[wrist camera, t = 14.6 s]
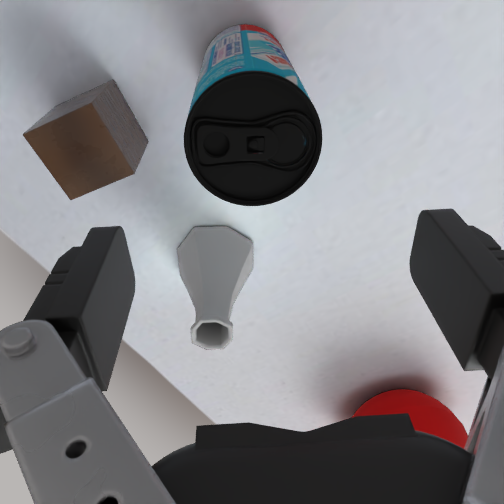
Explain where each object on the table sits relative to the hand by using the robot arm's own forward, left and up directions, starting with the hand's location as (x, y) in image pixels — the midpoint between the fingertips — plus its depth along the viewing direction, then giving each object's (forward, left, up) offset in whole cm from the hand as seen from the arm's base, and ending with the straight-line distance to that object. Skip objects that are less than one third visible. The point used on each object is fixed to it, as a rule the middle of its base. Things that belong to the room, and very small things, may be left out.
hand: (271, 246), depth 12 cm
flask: (-4, -16, -23) cm, 28 cm away
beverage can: (0, 0, -23) cm, 23 cm away
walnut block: (-11, -3, -23) cm, 26 cm away
